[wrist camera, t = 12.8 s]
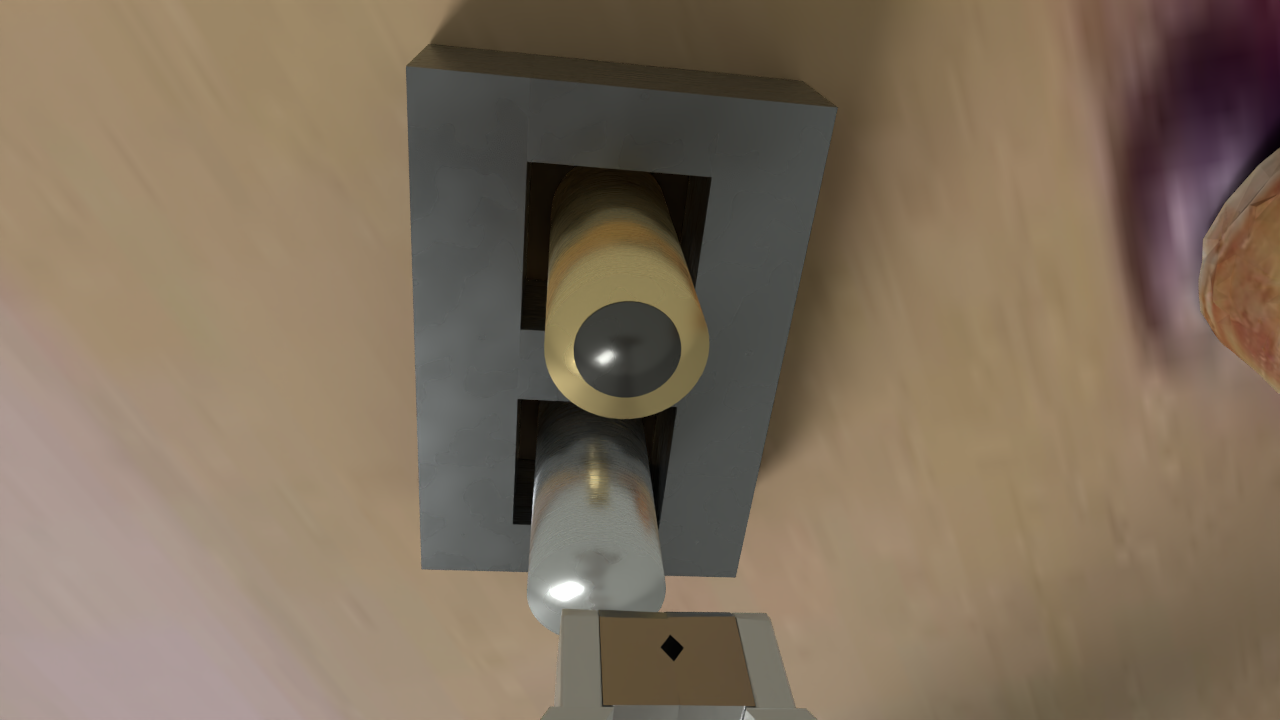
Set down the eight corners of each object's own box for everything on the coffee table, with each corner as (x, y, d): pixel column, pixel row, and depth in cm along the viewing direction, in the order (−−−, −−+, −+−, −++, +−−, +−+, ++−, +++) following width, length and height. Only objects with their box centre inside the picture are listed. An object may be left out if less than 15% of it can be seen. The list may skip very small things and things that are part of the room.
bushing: (658, 270, 30) (697, 424, 21) (548, 262, 29) (539, 417, 20) (672, 161, 28) (721, 280, 19) (554, 151, 27) (548, 269, 18)
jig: (719, 511, 35) (767, 709, 26) (436, 501, 34) (390, 706, 25) (802, 81, 27) (915, 166, 18) (428, 44, 25) (353, 116, 17)
